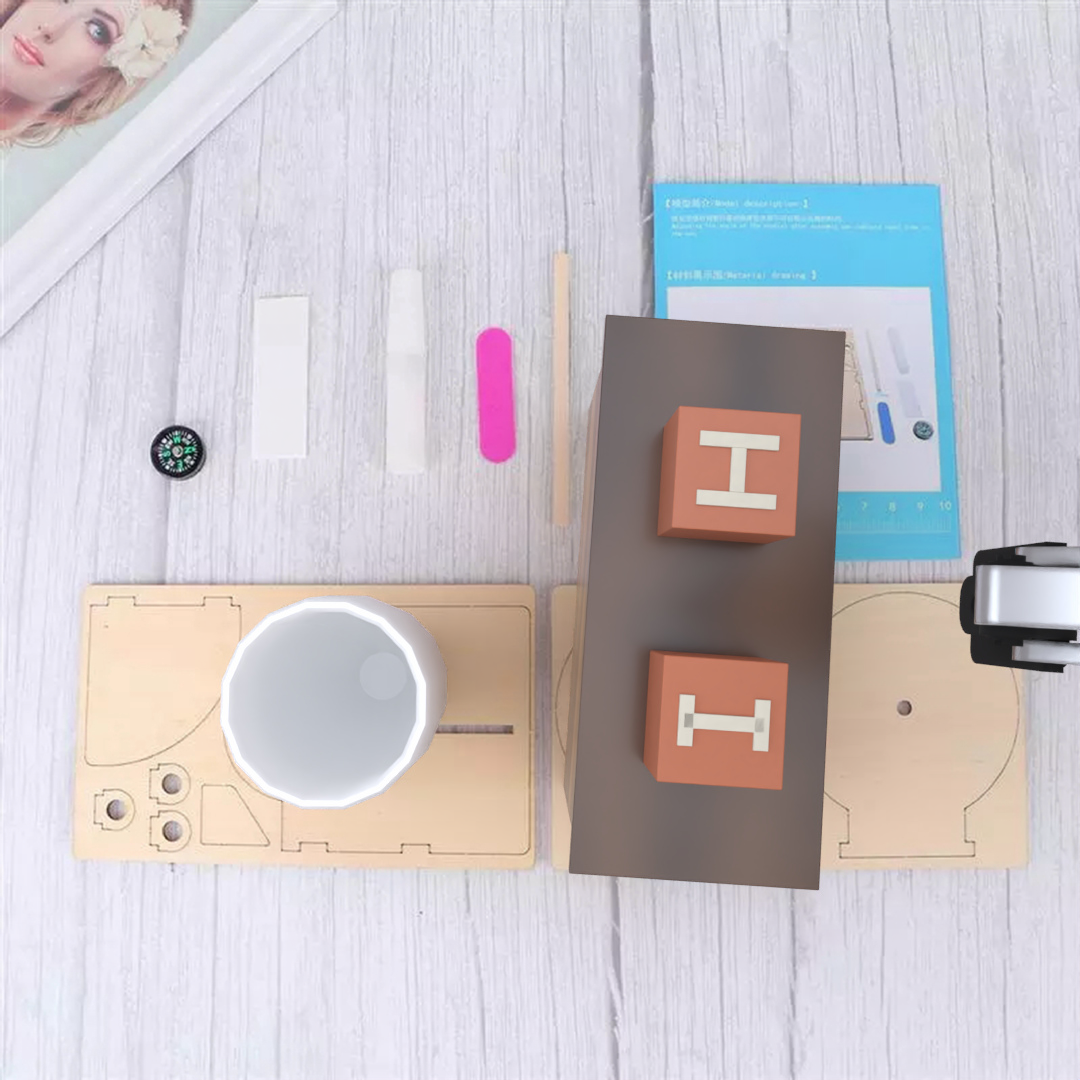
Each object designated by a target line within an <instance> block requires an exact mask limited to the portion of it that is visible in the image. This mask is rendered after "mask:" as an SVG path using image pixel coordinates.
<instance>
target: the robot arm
mask: <svg viewBox="0 0 1080 1080" xmlns="http://www.w3.org/2000/svg"><path fill="white" fill-rule="evenodd" d="M958 614H959V616H958V617H959V624H960V627H961V629H962V631H963V632H964V633H965V634H966V635H970V641H969V643H970V644H969V654H970V658H971V661H972V662H973V663H974V664H976V665H977V664H978V665H985V666H992V667H993V666H994V667H1000V668H1009V669H1017V670H1024V671H1025V670H1026V671H1033V672H1041V673H1053V674H1056V673H1057V674H1064V673H1065V672H1064V671H1065V669H1064V668H1066V666H1069V665H1070V666H1080V642H1077V641H1078V631H1080V546H1079V545H1078V546H1068V542H1060V541H1041V542H1040V541H1039V542H1033V543H1026V544H1018V545H1010V546H1002V547H995V548H988V549H987V548H986V549H980V550H977V552H976V553H975V555H974V556H973V563H972V574H971V575H968V576H967V577H966V578H964V580H963V582H962V584H961V588H960V592H959V610H958Z"/></svg>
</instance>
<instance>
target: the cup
mask: <svg viewBox="0 0 1080 1080" xmlns="http://www.w3.org/2000/svg"><path fill="white" fill-rule="evenodd" d="M447 705H448V668H447V665H446V663H445V660H444V658H443V655H442V652H441V650H440V648H439V646H438V643H437V641H436V638H435V636H434V635H433V634H431V633H430V632H429V630H428V629H427V628H426V627H425V626H424V625H423V624H422V623H421V622H420V621H419V620H418V619H417V618H416V617H415V616H414V615H413V614H412V613H410V612H408V611H406V610H403V609H402V608H399V607H396V606H394V605H391V604H389V603H387V602H385V601H382V600H381V599H377V598H376V597H375V598H374V597H373V596H370V595H345V594H344V595H342V594H341V595H339V594H337V595H336V594H335V595H334V594H333V595H319V596H310V597H306V598H303V599H301V600H298V601H296V602H293V603H290V604H289V605H286V606H283V607H280V608H278V609H276V610H273V611H271V612H268V613H267V614H266V615H265V616H264V617H263V618H262V619H261V620H260V621H259V622H258V623H257V624H256V625H255V626H254V627H253V628H252V629H251V630H250V631H249V632H248V633H247V634H245V635H244V636H243V638H242V639H241V640H240V641H239V642H237V645H236V647H235V649H234V651H233V654H232V656H231V657H230V661H229V663H228V665H227V667H226V669H225V672H224V673H223V676H222V679H221V682H220V709H219V710H220V711H219V712H220V713H219V715H220V716H219V724H220V728H221V730H222V732H223V735H224V738H225V741H226V743H227V745H228V748H229V750H230V754H231V756H232V759H233V761H234V763H235V764H236V765H237V766H238V767H239V768H240V770H241V771H242V772H243V773H244V774H245V775H246V776H247V777H248V778H249V779H250V780H251V781H252V782H253V783H254V784H255V785H256V786H257V787H258V788H259V790H261V791H262V792H263V794H265V795H268V796H270V797H273V798H275V799H277V800H279V801H282V802H285V803H286V804H289V805H291V806H294V807H296V808H299V809H301V810H347V809H349V808H352V807H354V806H357V805H359V804H362V803H364V802H366V801H369V800H371V799H374V798H376V797H378V796H380V795H384V794H385V793H386V792H387V791H388V790H389V789H390V788H391V787H392V786H393V785H394V784H395V783H396V782H397V781H399V780H400V779H401V778H402V776H404V774H406V773H407V772H408V771H409V770H410V768H412V767H413V766H414V765H415V764H416V762H417V761H419V760H420V759H421V758H422V757H423V756H424V755H425V754H426V753H427V752H428V751H429V749H430V746H431V744H432V742H433V739H434V737H435V735H436V733H437V730H438V727H439V725H440V723H441V721H442V718H443V716H444V714H445V711H446V708H447Z"/></svg>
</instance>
